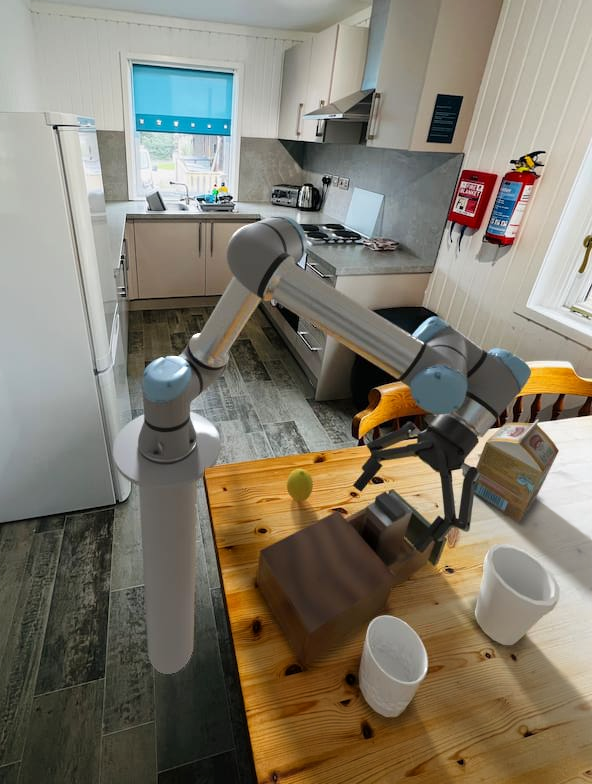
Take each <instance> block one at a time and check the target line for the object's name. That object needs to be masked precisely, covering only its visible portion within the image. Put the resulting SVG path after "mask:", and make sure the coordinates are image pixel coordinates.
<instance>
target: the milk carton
mask: <svg viewBox="0 0 592 784" xmlns="http://www.w3.org/2000/svg"><path fill="white" fill-rule="evenodd" d="M538 424H539V419H538V418H537V419H536V420H535V421H533V423H532V422H531V423H530V422H508V423H504V424H503V425H502V426H501V427H500V428H499V429H497V430H496V432H495V433H493V434H492V435H491V437H489V438H488V439H487V440H486V441H485V443H484V446H483V448H482V452H481V454H480V457H479V459H478V462H477V464H476V467H475V468H477V470H478V471H479V473H480V478H479V479H478V481H477V483H476V484H475V490H474V495H477V496H478V497H480V498H481V499H482V500H484V501H486V502H488V503H489V504H491V505H493V506H494V507H495V508H497V509H498V510H500V511H502V512H503V513H505V515H508V516H509V517H511V518H512V519H514V520H516V521H517V522H520V521H522V519H523V518H524V516H525V514H526V513H527V512H528V510H529V509H530V508H531V506H532V504H533V503H534V501H535V500H536V499H537V497H538V495H539V493H540V491H541V489H542V487H543V485H544V483H545V481H546V479H547V476H548V474H549V472H550V470H551V468H552V466H553V464H554V462H555V460H556V458H557V456H558V454H559V451H560V450H559V449H558V447H557V446H556V444H555V442H554V441H553V440H552V439H551V438H550V436H549V435H548V434H547V433H546V432H545V430H543V429H542V428H541V427H540V426H539V425H538Z"/></svg>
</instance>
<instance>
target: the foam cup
mask: <svg viewBox="0 0 592 784" xmlns="http://www.w3.org/2000/svg"><path fill="white" fill-rule="evenodd" d="M482 570H483V572H482V577H481V582H480V586H479V589H478V590H479V591H478V596H477V600H476V605H475V610H474V615H475V620H476V623H477V624H478V625H479V627H480V629H481V630H482V632H483V633H485V634H486V635H487V636H488V637H489V638H491V640H492V641H494V642H496V643H499V644H500V645H502V646H513V645H514V644H516V643H517V642H518V641H520V639H522V638H523V637H524V636H525V635H526V634H527V633H528V632H529V631H530V630H532V628H533V627H534V626H535V625H536V624H537V623H538V622H539V621H540V620H541V619H542V618H543V617H544V616H546V615H548V614H549V613H550V612H552V611H553V610H554V609H555V607H556V605H557V604H558V603H559V600H560V590H561V588H560V586H559V584H558V582H557V580H556V578H555V576H554V573H552V572H551V570H550V569H549V568H548V567H547V566H546V565H545V564H544V563H543V562H542V561H541V560H540V559H539V558H537V557H536V556H534V555H532V554H531V553H529V552H528V551H527V550H525V549H523V548H520V547H518V546H515V545H513V544H506V543H497V544H495V545H493V546H491V547H489V548H488V551H487V553H486V555H485V557H484V561H483V565H482Z"/></svg>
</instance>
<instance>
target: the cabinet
mask: <svg viewBox="0 0 592 784" xmlns="http://www.w3.org/2000/svg"><path fill="white" fill-rule="evenodd" d="M395 577H396V576H395V575H394V574H393V572H392V571H391V570H390V569H389V568H388V567H387V566H386V564H385V563H384V562H383V561H382V560H381V559H380V558H379V557H378V555H377V554H376V553H375V552H374V551H373V550H372V549H371V547H370V546H369V545H368V544H367V543H366V542H365V541H364V540H363V538H362V537H361V536H360V535H359V534H358V533H357V532H356V530H355V529H354V528H353V527H352V526H351V525H350V524H349V523H348V521H347V520H346V519H345V517H344V515H343V514H342V513H341V512H340V511H339V510H336V511H335V512H332V513H331V514H329V515H327V516H325V517H322V518H321V519H318V520H317V521H315V522H313V523H311V524H309V525H307V526H305V527H303V528H301V529H299V530H297V531H295V532H294V533H291V534H290V535H288V536H285V537H283V538H282V539H280V540H278V541H276V542H274V543H272V544H270V545H268V546H266V547H264V548H262V549H260V550H259V557H258V565H257V573H256V581H255V582H256V585H257V587H258V588H259V590H260V592H261V594H262V596H263V597H264V600H265V601H266V603H267V604H268V606H269V607H270V610H271V612H272V613H273V615H274V617H275V619H276V620H277V622H278V624H279V626H280V628H281V629H282V631H283V633H284V635H285V636H286V638H287V640H288V642H289V643H290V645H291V647H292V649H293V651H294V652H295V654H296V655H297V658H298V659H299V661H300V664H302V666H303V667H306V666H307V665H308V664H311V662H312V661H315V659H317V658H318V657H319V656H321V655H322V654H323V653H325V652H326V651H328V650H330V648H333V647H334V646H335V645H337V644H338V643H339V642H341V641H342V640H343V639H345V638H346V637H348V636H349V635H350V634H352V633H353V632H354V631H356V630H357V629H358V628H360V627H361V626H363V625H365V624H366V623H367V622H369V621H370V620H371V619H373V618H374V617H376V616H377V615H379V614H380V613H381V612H383V611H384V610H385V609H386V606H387V605H388V601H389V599H390V595H391V593H392V590H393V589H392V586H393V583H394V580H395Z"/></svg>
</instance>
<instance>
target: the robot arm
mask: <svg viewBox="0 0 592 784" xmlns="http://www.w3.org/2000/svg"><path fill="white" fill-rule="evenodd" d="M307 248H308V240H307V234H306V232H305V230H304V229H303V227H302V225H301V224H300V223H299V222H298V221H297V220H295V219H294V218H292V217H289V216H286V215H273V216H272V215H271V216H268V217H267V218H265V219H262V220H259V221H255V222H253V223H248V224H245V225H244V226H241V227H240V228H238V229H237V230H236V231H235V232H234V233H233V234H232V236H231V237H230V239H229V241H228V243H227V246H226V262H227V265H228V268H229V271H230V272H231V273H232V278H231V280H230V281H229V283H228V285H227V287H226V288H225V289H224V292H223V294H222V296H221V297H220V299H219V300H218V302H217V304H216V306H215V307H214V309H213V310H212V313H211V315H210V316H209V318H208V320H207V321H206V323H205V324H204V326H203V328H202V330H201V332H200V333H196V334H194V335H193V336H191V338H190V339H189V341H188V343H187V345H186V347H185V348H184V350H183V351H182V352H181V354H179V355H178V356H176V355H167V356H165V357H159V358H157V359H154V360H153V361H151V362H150V363H149V364H148V365H147V366H146V368H145V369H144V371H143V374H142V383H141V390H142V404H143V415H144V423H143V425H142V428H141V431H140V434H139V438H138V448H139V452H140V453H141V455H142V456H143V457H144V458H145V459H147V460H148V461H150V462H153V463H156V464H174V463H177V462H180V461H182V460H184V459H186V458H187V457H189V456H190V455H191V454H192V453H193V451H194V450H195V448H196V444H197V435H196V431H195V429H194V426H193V423H192V421H191V418H190V412H191V404H192V402H193V401H194V400H195V399H196V398H197V397H198V396H200V395H201V394H203V392H204V391H205V390H207V389H208V388H210V386H212V385H213V384H214V383H215V382H217V380H219V379H221V378H222V377H223V375H224V373H225V372H226V371H227V369H228V366H229V360H230V351H229V350H230V349H231V348H232V345H234V343H235V341H236V340H237V338H238V337H239V335H240V334H241V332H242V331H243V329H244V327H245V326H246V325H247V322H249V321H250V319H251V317H252V315H253V314H254V312H255V311H256V309H257V308H258V306H259V304H260V303H261V302H262V300H263V301H264V302H270V301H275V302H276V303H278V304H279V305H280V306H283V307H284V308H285V309H287V310H289V312H292V313H293V314H295V315H297V316H298V317H300V318H301V319H303V320H304V321H306V322H307V323H309V324H311V325H312V326H314V327H315V328H317V329H318V330H320V331H321V332H323V333H325V334H326V335H327V336H330V337H331V338H332V339H334V340H335V341H337V342H339V343H340V344H342V345H343V346H345V347H346V348H348V349H350V350H351V351H353V352H355V354H357V355H359V356H361V357H362V358H364V359H365V360H367V361H368V362H370V363H372V364H373V365H374V366H376V367H378V368H379V369H381V370H382V371H384V372H386V373H387V374H389V375H390V376H392V377H394V378H395V379H397V380H398V381H399V382H401V383H402V384H404V385H405V386H406V387H408V388H409V390H410V395H411V398H412V400H413V401H414V402H415V404H416V405H417V406H418V407H419V408H420V409H421V410H423V411H425V412H426V413H430V414H432V415H433V414H434V415H435V417H434V418H433V419H432V420H431V422H430V423H429V424H428V425H427V427H426V429H424V430H423V431H421V430H420V429H419V428H418V427H417V426H416V425H415V424H414V422H412V421H407V422H406V423H405V424H404V425H403V426H402V427H401V428H399V429H396V430H395V431H394V430H393V431H392V432H390V433H387V434H385V435H383V436H381V437H378V438H376V439H374V440H372V441H369V442H367V444H366V448H367V449H368V450H369V452H370V456H369V457H368V459H367V460H366V461H365V462H364V464H363V465H362V467H361V470H362V471H363V472H362V473H361V474H360V476H359V477H358V478H357V479H356V480H355V482H354V483H353V484H352V486H353V487H354V488H355V489H356V490H358V491H359V492H363V491H364V489H365V488H366V487H367V486H368V485H369V483H370V482H371V480H373V478H374V477H375V476H376V475H377V473H379V471H380V469H381V468H382V467H383V464H381V463H382V462H384V461H390V460H391V461H392V460H398V459H405V458H412V457H413V458H416V457H417V458H419V459H420V461H422V462H423V463H424V464H426V465H427V466H429V467H430V468H431V469H432V470H433V471H434V472H435V473H439V477H440V483H441V484H440V485H441V493H442V494H441V495H442V504H443V515H444V516H443V517H442V516H440V515H437V517H436V518H435V519H434V520H433V522H432V523H431V525H430V527H429V528H428V529H427V530H426V532H425V533H424V534H423V535H422V537H421V538H420V539H419V540H418V542H417V543H416V544H415V545H414V546H413V548H414V549H417V550H418V551H419V552H421V553H423V552H424V551H425V549H426V548H427V547H428V546H429V544H430V543H431V542H432V541H433V539H434V538H436V539H437V540H438V541H442V540H443V539H444V538H445V537H447V535H448V534H449V533H450V531H451V530H452V529H454V528H456V529H459V530H461V531H463V532H464V533H468V532H470V530H471V521H472V515H473V506H474V498H475V493H474V490H475V484H476V483H477V481H478V479H479V478H480V473H479V471H478V470H477V468H476V467H475V466H471V465H469V464H467V463H465V461H466V458H467V457H468V456H469V455H470V454H471V452H472V451H473V450H474V449H475V448H476V446H477V445H478V444H479V438H483V437H484V436H485V435H486V434H487V433H488V431H489V430H490V429H491V428H492V426H493V425H494V424H495V423H496V421H498V419H499V417H500V416H501V415H502V414H503V412H504V411H505V410H506V409H507V408H508V406H510V404H511V403H512V402H513V401H514V400H515V398H516V397H517V396H518V395H519V394H521V392H522V390H523V388H524V387H525V386H526V385H527V383H528V382H529V379H530V378H531V377H532V376H531V375H532V370H531V368H530V366H529V364H527V363H526V361H524V360H523V359H522V358H521V357H519V356H518V355H516V354H513V353H512V352H510V351H508V350H506V349H503V348H499V347H494V348H492V349H490V350H489V351H486V350H485V349H483V348H481V347H480V345H477V344H476V343H475V342H474V341H472V340H471V339H470V338H468V337H467V336H465V334H462V332H460V331H459V330H458V329H456V328H455V327H454V326H453V325H452V324H451V323H450V324H449V323H448V322H447V321H445V320H443V319H442V318H440V317H439V316H435V315H434V316H431V317H428V318H427V319H426V320H424V321H423V322H422V323H421V324H420V325H419V326H418V328H417V329H415V331H414V332H413V333H412V334H411V333H409V331H406V330H404V329H403V328H401V327H400V326H398V325H397V324H395V323H393V322H392V321H390V320H388V319H387V318H384V317H383V316H381V315H380V314H378V313H376V312H375V311H373V310H371V309H370V308H368V307H366V306H364V305H363V304H361V303H360V302H357V301H356V300H354V299H353V298H351V296H350V297H349V296H348V295H346V294H345V293H343V292H341V291H340V290H338V289H337V288H335V287H333V286H331V285H330V284H328V283H327V282H324V281H323V280H322V279H320V278H318V277H317V276H315V275H313V274H311V273H310V272H308V271H306V270H305V269H304V268H301V267H300V266H298V265H297V264H298V263H299V262H300V261H302V259H303V257H304V256H305V254H306V252H307ZM414 437H416V443H409V444H407V445H402V446H398V447H392V446H394V445H396V444H399V443H401V442H403V441H405V440H407V439H409V438H414ZM457 470H462V473H461V475H462V476H463V482H462V487H461V495H460V504H459V510H458V518H457V513H456V505H455V496H454V488H453V486H454V485H453V471H457Z"/></svg>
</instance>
